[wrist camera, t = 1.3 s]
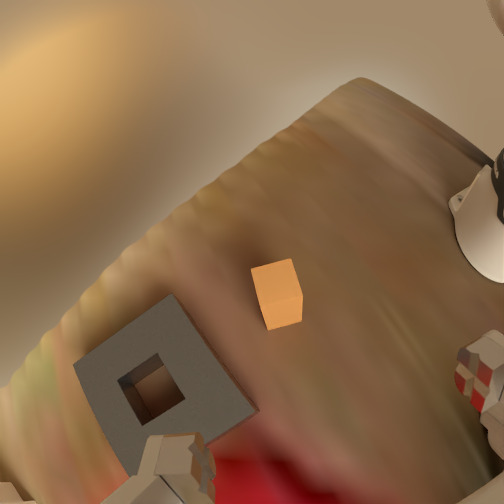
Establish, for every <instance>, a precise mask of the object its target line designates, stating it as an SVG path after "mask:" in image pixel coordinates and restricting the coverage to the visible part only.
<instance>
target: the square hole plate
mask: <svg viewBox="0 0 504 504" xmlns="http://www.w3.org/2000/svg"><path fill="white" fill-rule="evenodd" d="M162 365H165V367H166V368H167V370H168V372H169V373H170V375H171V376H172V378H173V380H174V381H175V383H176V384H177V386H178V388H179V389H180V391H181V392H182V394H183V395H184V397H185V398H186V399H185V400H183V401H182V402H180V403H178V404H177V405H175V406H174V407H172V408H171V409H169V410H168V411H166V412H164V413H163V414H161V415H160V416H158V417H156V418H155V419H153V418H152V416H151V414H150V413H149V411H148V409H147V407H146V406H145V404H144V402H143V401H142V399H141V397H140V395H139V394H138V392H137V390H136V388H135V386H134V384H136V383H137V382H139V381H140V380H142V379H143V378H145V377H146V376H148V375H149V374H151V373H152V372H154V371H155V370H157V369H158V368H160V367H161V366H162ZM73 366H74V369H75V371H76V374H77V376H78V379H79V381H80V384H81V386H82V388H83V391H84V393H85V395H86V398H87V400H88V402H89V404H90V406H91V408H92V411H93V413H94V415H95V417H96V419H97V421H98V423H99V425H100V427H101V429H102V431H103V433H104V434H105V436H106V438H107V440H108V442H109V444H110V445H111V447H112V449H113V451H114V453H115V454H116V456H117V458H118V459H119V461H120V463H121V464H122V466H123V468H124V469H125V471H126V473H127V474H128V476H129V477H131V476H133V475H137V474H138V470H139V467H140V463H141V459H142V456H143V452H144V449H145V445H146V442H147V439H148V438H149V437H150V436H151V435H166V434H179V433H191V432H200V434H201V435H202V437H203V439H204V446H205V447H206V446H208V445H210V444H211V443H213V442H215V441H216V440H218V439H219V438H221V437H223V436H224V435H226V434H227V433H229V432H230V431H232V430H233V429H235V428H236V427H238V426H239V425H241V424H242V423H244V422H245V421H247V420H248V419H250V418H251V417H253V416H254V415H256V414H257V413H258V412H260V411H259V409H258V408H257V407H256V406H255V404H254V403H253V402H252V401H251V399H250V398H249V397H248V395H247V394H246V393H245V392H244V390H243V389H242V388H241V386H240V385H239V384H238V382H237V381H236V380H235V378H234V377H233V376H232V374H231V373H230V372H229V370H228V369H227V368H226V366H225V365H224V363H223V362H222V361H221V359H220V358H219V357H218V355H217V354H216V352H215V351H214V350H213V348H212V347H211V345H210V344H209V343H208V341H207V340H206V338H205V337H204V335H203V334H202V332H201V331H200V330H199V328H198V327H197V325H196V324H195V322H194V321H193V319H192V318H191V316H190V315H189V313H188V312H187V310H186V309H185V307H184V306H183V305H182V304H181V302H180V301H179V300H178V299H177V298H176V297H175V296H174V295H173V294H172V293H171V294H170V295H168V296H167V297H165V298H164V299H163V300H161V301H160V302H158V303H157V304H156V305H154V306H153V307H151V308H150V309H149V310H147V311H146V312H144V313H143V314H142V315H140V316H139V317H138V318H136V319H135V320H133V321H132V322H131V323H129V324H128V325H126V326H125V327H124V328H122V329H121V330H120V331H118V332H117V333H115V334H114V335H113V336H111V337H110V338H109V339H107V340H106V341H104V342H103V343H102V344H100V345H99V346H98V347H96V348H95V349H93V350H92V351H91V352H89V353H88V354H87V355H85V356H84V357H83V358H81V359H80V360H78V361H77V362H76V363H74V364H73Z"/></svg>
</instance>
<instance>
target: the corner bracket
mask: <svg viewBox="0 0 504 504" xmlns="http://www.w3.org/2000/svg"><path fill="white" fill-rule="evenodd" d="M0 504H37V503H36V501H23V500H22V499H21V497H20V496H19V494H18V492H17V491H16V489H15V488H14V486H13V484H12V483H11V482H0Z"/></svg>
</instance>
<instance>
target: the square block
mask: <svg viewBox="0 0 504 504" xmlns="http://www.w3.org/2000/svg"><path fill="white" fill-rule="evenodd" d="M251 272H252V276H253V280H254V284H255V288H256V292H257V296H258V300H259V304H260V308H261V311H262V314H263V317H264V320H265V323H266V326H267V329H268V330H271V329H275V328H278V327H282V326H286V325H290V324H293V323H297V322H300V321H302V301H303V294H302V291H301V288H300V285H299V282H298V279H297V276H296V273H295V270H294V266H293V263H292V260H291V258H290V259H286V260H282V261H278V262H275V263H271V264H267V265H263V266H259V267H256V268H252V269H251Z"/></svg>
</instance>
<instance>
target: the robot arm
mask: <svg viewBox="0 0 504 504" xmlns="http://www.w3.org/2000/svg"><path fill="white" fill-rule="evenodd" d="M486 1H487V5H488V7H489V11H490V13H491V16H492V18H493V20H494V22H495V24H496V25H497V27H498V28H499V30H500V31H501V32H502V34H503V36H504V0H486ZM448 204H449V207H450V210H451V212H452V214H453V216H454V220H455V231H456V236H457V240H458V243H459V245H460V247H461V249H462V251H463V253H464V255H465V256H466V258H467V259H468V261H469V262H470V263H471V264H472V266H473V267H474V268H475V269H476V270H477V271H479V272H480V273H481V274H482V275H484V276H485V277H487V278H489V279H491V280H493V281H496V282H501V283H504V148H503V149H502V151H501V152H500V154H499V155H498V156H497V158H496V160H495V163H494V165H493V167H492V168H491V167H490V166H488V165H485V166H484V168H483V169H482V170H481V171H479V173H478V174H477V176H476V178H475V179H474V181H473V183H472V184H471V185H470V186H469V187H467V188H465V189H464V190H462V191H461V192H459V193H458V194H456V195H454V196H453V197H452V198H451V199H450V200H449V203H448ZM457 360H458V361H459V362H460V363H459V365H458V367H457V368H456V370H455V382H456V386H457V388H458V389H459V391H460V392H461V393H462V394H463V395H466V396H470V403H471V404H472V405H473V406H474V407H475V408H476V409H477V410H478V411H479V412H480V413H483V412H484V411H486V410H487V409H489V408H490V407H492V406H493V405H495V404H496V403H498V402H499V401H500V402H499V403H501V404H504V335H503V334H501V333H500V332H498V331H497V330H491V331H489V332H488V333H486V334H485V335H483V336H482V337H480V338H478V339H476V340H475V341H473V342H471V343H469V344H468V345H466V346H464V347H462V348H460V350H459V352H458V356H457ZM215 476H216V467H215V461H214V458H213V455H212V453H211V451H210V449H209V448H207V447H205V446H204V439H203V437H202V435H201V434H200V432H191V433H179V434H166V435H151V436H150V437H149V438H148V439H147V442H146V445H145V449H144V452H143V456H142V459H141V463H140V467H139V470H138V474H137V475H133V476H131V477H130V478H129V479H128V480H127V481H126V482H125V483H123V484H122V485H121V486H120V487H119V488H118V489H117V490H115V491H114V492H113V493H112V494H111V495H109V496H108V497H107V498H106V499H105V500H103V501H102V502H101V503H100V504H215V486H214V485H213V483H212V482H211V481H212V479H213V478H214V477H215ZM456 504H504V471H503V472H502V473H500V474H499V475H498V476H496V477H495V478H494V479H492V480H491V481H490V482H488V483H487V484H485V485H484V486H483V487H481V488H480V489H478V490H477V491H475V492H474V493H472V494H471V495H469V496H468V497H466V498H464V499H463V500H461V501H460V502H458V503H456Z"/></svg>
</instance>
